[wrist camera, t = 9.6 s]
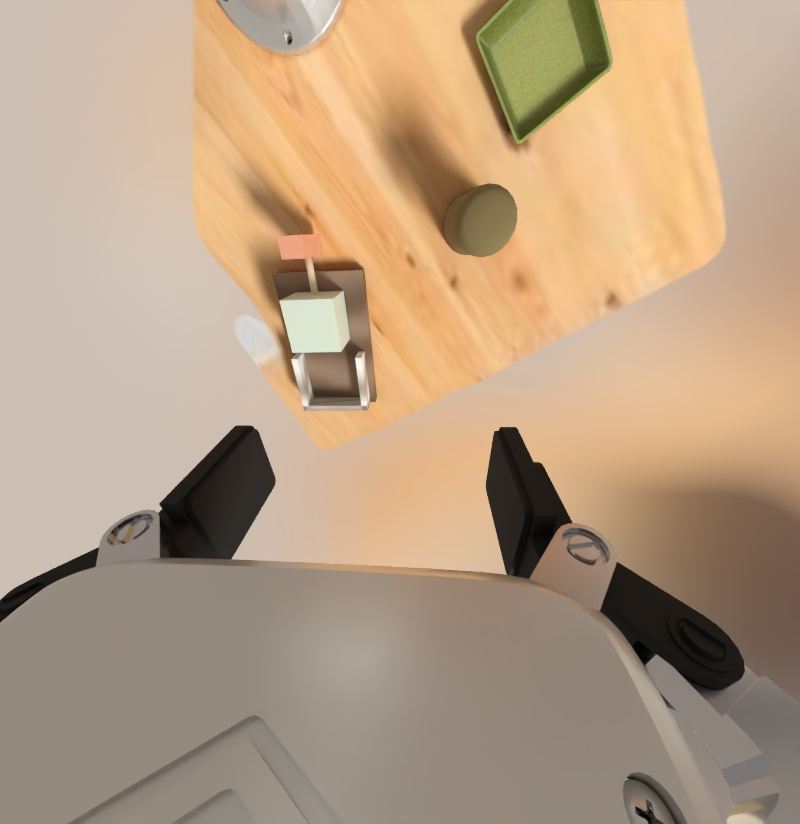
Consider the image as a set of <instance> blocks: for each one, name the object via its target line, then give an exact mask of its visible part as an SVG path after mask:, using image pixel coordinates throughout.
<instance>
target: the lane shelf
mask: <svg viewBox="0 0 800 824" xmlns="http://www.w3.org/2000/svg"><path fill="white" fill-rule="evenodd" d="M314 272H315V277H316V283H317V288H318V292H323V291H344V298H345V305H346V313H347V320H348V327H349V334H350V340H349V341H348V343H347V344H346V346H345V347H344V348H343V350H342V351H341V352H313V353H293V358H292V359H291V361H292V365H293V368H294V372H295V376H296V380H297V384H298V388H299V392H300V396H301V400H302V404H303V407H304V411H357V410H368V407H369V404H370V402H376V398H377V394H376V384H375V374H374V364H373V354H372V344H371V334H370V324H369V314H368V304H367V293H366V283H365V273H364V269H348V270H325V271H314ZM273 277H274V281H275V285H276V289H277V293H278V297H279V301H280V300H282V299H284V298H286V297H288V296H290V295H292V294H294V293H296V292H311V289H310V284H309V278H308V273H307V271H301V272H278V273H275V274H273Z"/></svg>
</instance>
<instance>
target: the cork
mask: <svg viewBox="0 0 800 824" xmlns="http://www.w3.org/2000/svg"><path fill="white" fill-rule="evenodd" d="M516 222H517V207H516V204H515V201H514V198H513V197H512V195H511V194H510V193H509V192H508V190H507V189H505V188H503V187H502V186H500V185H497V184H485V185H481V186H478V187H476V188H475V189H473V190H472V191H470V192H466V193H463V194H461V195H460V196H458V197H457V198H455V199H454V201H453V202H452V203H451V204H450V206H449V207H448V209H447V211H446V214H445V216H444V222H443V232H444V237H445V240H446V242H447V244H448V245H449V246H450V248H451V249H452V250H453V251H455V252H457V253H459V254H463V255H472V256H477V257H485V256H489V255H493V254H494V253H496V252H498V251H499V250H501V249H502V248H503V247H504V246H505V245H506V244H507V242H508V241H509V239H510V238H511V236H512V234H513V232H514V230H515V226H516Z"/></svg>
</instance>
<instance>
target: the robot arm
mask: <svg viewBox="0 0 800 824" xmlns="http://www.w3.org/2000/svg"><path fill="white" fill-rule="evenodd" d="M218 1H219V3H220V5H221V7H222V8H223V9H224V11H225V12H226V13H227V15H228V16H229V17H230V19H231V20H232V21H233V23H234V24H235V25H236V26H237V27H238V28H239V29H240V31H241V32H242V33H243V34H244V35H245V36H246V37H248V38H249V39H250V40H251V41H252V42H254V43H255V44H256V45H257V46H259V47H261V48H263V49H264V50H266V51H268V52H270V53H273V54H277V55H281V56H298V55H301V54H304V53H307V52H309V51H311V50H312V49H314V48H315V47H316V46H318V45H319V44H321V42H322V41H323V40H324V39H325V38H326V37H327V36H328V34H329V33H330V32H331V30H332V29H333V27H334V25H335V23H336V22H337V20H338V18H339V16H340V13H341V11H342V8H343V5H344V3H345V0H218ZM290 39H292V43H291V44H290V45H289V40H290ZM274 486H275V476H274V473H273V470H272V468H271V465H270V462H269V459H268V457H267V454H266V451H265V449H264V446H263V443H262V440H261V437H260V435H259V432H258V431H257V430H256V429H254V427H253V426H235V427H234V428H233V429H232V430H231V431H230V432H229V433H228V434H227V435H226V436H225V437H224V438H223V439H222V440H221V441H220V442H219V443H218V444H217V445H216V446H215V447H214V448H213V449H212V450H211V451H210V452H209V453H208V454H207V456H206V457H205V458H204V459H203V460H202V461H201V462H200V463H199V464H198V465H197V466H196V467H195V468H194V469H193V470H192V471H191V472H190V473H189V474H188V475H187V476H186V477H185V478H184V479H183V480H182V481H181V482H180V483H179V484H178V485H177V486H176V487H175V488H174V489H173V490H172V491H171V492H170V493H169V494H168V495H167V496H166V498H165V499H163V500H162V502H161V503H160V506H161V507H162V510H161V511H160V512H159V513H158V512H156V511H154V510H143V511H139V512H136V513H133V514H130V515H128V516H126V517H124V518H123V519H121V520H119V521H118V522H117V523H115V524H114V525H113V526H111V528H109V529H108V530H107V531H106V533H105V534H104V535H103V537H102V539H101V541H100V546H99V547H98V548H96V549H94V550H92V551H90V552H88V553H86V554H84V555H81V556H80V557H77V558H75V559H73V560H71V561H69V562H67V563H65V564H62V565H61V566H58V567H56V568H54V569H52V570H50V571H48V572H46V573H43V574H41V575H39V576H37V577H35V578H33V579H31V580H29V581H27V582H25V583H24V584H22V585H19V586H18V587H16V588H14V589H13V590H11V591H10V592H9V593H8V594H6V595H5V596H4V597H3V598H2V599H1V600H0V824H800V705H799V704H798V703H796V702H795V701H794V700H793V699H792V698H790V697H789V696H788V695H787V694H786V693H785V692H783V691H782V690H781V689H780V688H779V687H777V686H776V685H775V684H774V683H773V682H772V681H770V680H769V679H768V678H767V677H766V676H765V675H764V676H762V677H761V678H759V677H757V676H756V675H755V674H754V673H753V672H752V671H751V670H749V669H748V668H747V667H746V666H745V665H744V660H743V658H742V656H741V654H740V652H739V650H738V648H737V647H736V645H735V644H734V643H733V641H732V640H731V639H730V637H729V636H728V635H727V634H726V633H725V632H724V631H723V630H722V629H721V628H720V627H718V626H717V625H716V624H715V623H713V622H712V621H711V620H709V619H708V618H706V617H705V616H704V615H702V614H700V613H699V612H697V611H695V610H694V609H692V608H691V607H689V606H687V605H686V604H684V603H683V602H681V601H679V600H678V599H676V598H674V597H673V596H671V595H670V594H668V593H666V592H665V591H663V590H661V589H659V588H658V587H657V586H655V585H654V584H652V583H650V582H649V581H647V580H645V579H644V578H642V577H640V576H639V575H637V574H636V573H634V572H632V571H631V570H629V569H628V568H626V567H624V566H623V565H621V564H620V563H618V562H617V554H616V552H615V549H614V547H613V546H612V544H611V543H610V541H609V540H608V539H606V538H605V537H604V536H603V535H602V534H601V533H599V532H598V531H596V530H594V529H593V528H590V527H588V526H585V525H582V524H577V523H572V521H571V519H570V517H569V515H568V513H567V511H566V509H565V507H564V505H563V504H562V501H561V499H560V498H559V496H558V494H557V492H556V490H555V488H554V486H553V484H552V482H551V480H550V478H549V476H548V474H547V472H546V470H545V468H544V467H543V465H542V464H541V463H538V462H533V460H532V458H531V456H530V454H529V452H528V450H527V448H526V446H525V444H524V442H523V439H522V437H521V435H520V434H519V431H518V429H517V428H516V427H500V429H499V431H495V432H494V436H493V442H492V449H491V455H490V461H489V468H488V474H487V480H486V491H487V496H488V499H489V504H490V508H491V512H492V516H493V520H494V524H495V528H496V532H497V537H498V541H499V545H500V549H501V553H502V557H503V562H504V565H505V570H506V573H507V575H502V574H494V573H485V572H472V571H458V570H443V569H427V568H406V567H387V566H367V565H346V564H325V563H302V562H280V561H256V560H231V559H232V557H233V555H234V554H235V552H236V550H237V549H238V547H239V545H240V544H241V542H242V540H243V538H244V537H245V535H246V533H247V532H248V530H249V528H250V527H251V525H252V523H253V521H254V520H255V518H256V516H257V515H258V513H259V511H260V510H261V508H262V506H263V504H264V503H265V501H266V500H267V498H268V496H269V494H270V493H271V491H272V489H273V488H274ZM668 707H669V708H671V709H674V710H676V711H677V712H678V713H679V714H680V715H681V716H682V717H683V719H684V720H686V722H687V723H688V724H689V725H690V726H691V727H692V728H693V730H694V732H693V733H692V735H693V736H694V737H695V738H696V739H697V740H698V742H699V743H700V744H701V745H702V746H703V747H704V748H705V749H706V751H707V752H708V753H709V754H710V756H711V757H712V758H713V760H714V761H715V762H716V764H717V765H718V766H719V768H720V769H721V771H722V773H723V775H724V777H725V779H726V781H727V783H728V785H729V787H730V792H731V797H732V803H733V806H732V809H731V812H730V815H729V817H728V818H727V820H725V818H724V816H723V814H722V812H721V810H720V808H719V805H718V804H717V802H716V800H715V798H714V796H713V794H712V792H711V790H710V788H709V786H708V784H707V782H706V780H705V778H704V776H703V774H702V772H701V770H700V768H699V766H698V764H697V762H696V761H695V758H694V756H693V754H692V753H691V751H690V749H689V747H688V745H687V743H686V741H685V739H684V737H683V735H682V733H681V731H680V729H679V727H678V725H677V723H676V722H675V720H674V718H673V716H672V714H671V712H670V711H669V709H668ZM626 778H628V779H630V780H626V781H625V779H626ZM650 806H651V808H652V811H651V809H650Z"/></svg>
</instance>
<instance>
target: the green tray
mask: <svg viewBox="0 0 800 824" xmlns="http://www.w3.org/2000/svg"><path fill="white" fill-rule="evenodd" d="M476 44H477V46H478V49H479V51H480V54H481V56H482V59H483V61H484V64H485V66H486V69H487V72H488V74H489V77H490V79H491V82H492V84H493V87H494V89H495V92H496V94H497V97H498V99H499V102H500V104H501V107H502V110H503V112H504V115H505V117H506V120H507V122H508V125H509V127H510V130H511V132H512V135H513V138H514V140H515V142H516V144H521V143H522V142H524V141H525V140H526V139H527V138H528V137H530V136H531V135H532V134H533V133H535V132H536V131H537V130H538V129H539V128H541V127H542V126H543V125H544V124H545V123H547V122H548V121H549V120H550V119H551V118H553V117H554V116H555V115H556V114H557V113H559V112H560V111H561V110H562V109H564V108H565V107H566V106H567V105H568V104H570V103H571V102H572V101H573V100H574V99H576V98H577V97H578V96H579V95H581V94H582V93H583V92H584V91H585V90H587V89H588V88H589V87H590V86H592V85H593V84H594V83H595V82H596V81H598V80H599V79H600V78H601V77H602V76H604V75H605V74H606V73H607V72H609V70H610V69H611V66H612V63H613V59H612V54H611V49H610V46H609V41H608V38H607V34H606V30H605V26H604V22H603V18H602V15H601V11H600V7H599V3H598V0H508V1H507V2H506V3H505V4H504V5H503V6H502V7H501V8H500V9H499V10H498V11H497V12H496V13H495V14H494V15H493V16H492V17H491V19H490V20H489V21H488V22H487V23H486V24H485V25H484V26H483V27H482V28H481V29H480V30H479V31H478V32H477V34H476Z"/></svg>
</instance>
